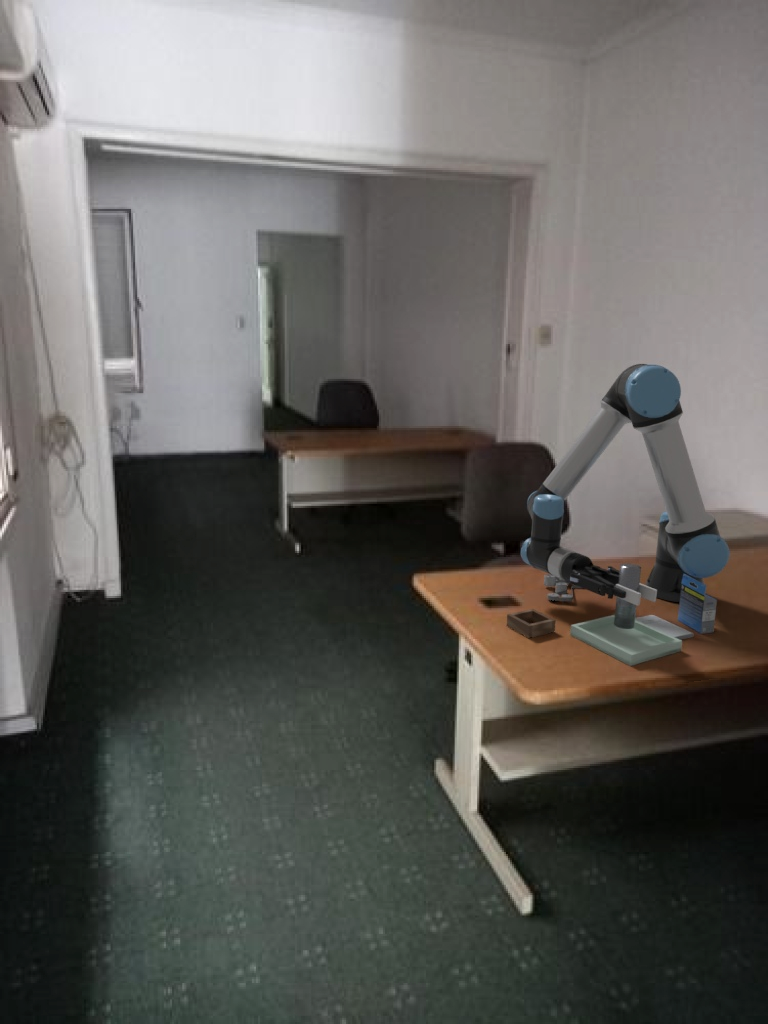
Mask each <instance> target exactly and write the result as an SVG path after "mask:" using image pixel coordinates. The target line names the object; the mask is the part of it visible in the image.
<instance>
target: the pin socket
mask: <svg viewBox="0 0 768 1024" xmlns="http://www.w3.org/2000/svg"><path fill="white" fill-rule="evenodd" d="M530 622H531V623H530ZM532 622H533V623H532ZM507 626H508V627H507ZM506 627H507V628H509V627H510V628H509V629H511V628H512V630H513V629H514V630H515V632H516V631H517V632H516V633H518V632H519V633H518V634H520V633H521V634H520V635H522V634H523V635H525V636H526V638H527V637H528V639H531V638H530V637H532V638H535V637H540V636H544V635H548V633H549V634H551V632H553V633H555V632H556V619H555V618H553V617H550V616H549V615H546V614H544V613H542V612H541V611H538V610H536V609H534V608H531V609H526V610H522V611H518V612H512V613H507V615H506ZM514 630H513V631H514ZM554 631H555V632H554ZM523 635H522V636H523ZM525 636H524V637H525Z"/></svg>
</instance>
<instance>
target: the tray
mask: <svg viewBox="0 0 768 1024" xmlns="http://www.w3.org/2000/svg"><path fill="white" fill-rule="evenodd" d="M614 617H615V614H612V615H608V616H602V617H599V618H595V619H591V620H586V621H583V622H578V623H574V624H571V625H570V630H569V631H570V632H569V635H570V637H573V638H575V639H577V640H579V641H581V642H582V643H585V644H587V645H588V646H590V647H593V648H594V649H596V650H598V649H599V650H598V651H599V652H603V653H604V654H606V655H608V656H610V657H612V658H614V659H616V660H618V661H619V662H622V663H624V664H626V665H628V666H630V667H632V666H635V665H638V664H641V663H646V662H650V661H652V660H655V659H656V660H657V659H659V658H662V657H666V656H669V655H673V654H677V653H680V652H682V647H683V646H682V645H683V639H681V640H679V639H677V638H675V637H673V636H670V635H668V634H666V633H664V632H661V631H659V630H657V629H654V628H652V627H650V626H648V625H645V624H643V623H641V622H639V621H636V620H635V624H634V628H632V629H622V628H619V627H616V626H615V625H614Z"/></svg>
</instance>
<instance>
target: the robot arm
mask: <svg viewBox="0 0 768 1024" xmlns="http://www.w3.org/2000/svg"><path fill="white" fill-rule="evenodd" d="M681 392H682V388H681V384H680V381H679V380H678V377H677V376H676V375H675V374H674V372H672V371H671V370H669V369H668V368H667V367H664V366H661V365H659V364H647V363H637V364H633V365H631V366H628V367H626V369H624V370H623V371H622V372H621V373H620V374H618V377H617V378H616V379H615V381H614V382H613V384H611V387H609V389H608V390H607V392H606V393H605V395H604V396H603V397H602V398H601V400H600V408H599V409H598V410H597V412H596V413H595V414H594V415H593V417H592V419H591V420H590V421H589V422H588V424H587V425H586V426H585V428H584V429H583V430H582V432H581V433H580V434H579V436H578V437H577V438H576V439H575V440H574V442H573V443H572V445H571V446H570V447H569V448H568V450H567V451H566V452H565V454H564V455H563V456H562V457H561V459H560V460H559V462H558V463H557V464H556V465H555V467H554V468H553V470H552V471H551V472H550V473H549V475H548V476H547V477H546V478H545V480H544V481H543V482H542V484H541V485H540V487H539V488H538V489H537V490H535V491H533V492H532V493H531V494H530V495H529V496H528V498H527V501H526V504H527V505H526V508H527V509H526V510H527V512H528V514H529V515H530V518H531V533H530V534H531V535H530V537H529V538H527V539H525V541H524V542H523V544H522V547H521V548H520V556H521V559H522V561H523V562H524V563H525V564H527V565H529V566H531V567H532V568H533V569H536V570H539V571H541V572H544V573H547V574H551V575H553V576H556V577H558V578H559V579H560V580H565V581H567V582H569V585H572V586H573V585H576V586H580V587H582V588H584V590H587V591H588V592H592V593H594V594H596V595H599V596H602V597H605V596H606V595H607V599H610V600H612V599H613V598H614V597H616V598H617V597H618V598H620V599H623V600H625V601H627V602H630V603H632V604H635V605H637V606H640V605H641V599H642V598H643V599H645V600H647V601H650V602H652V603H654V602H656V601H657V599H661V600H663V601H668V602H676V603H680V594H681V583H682V579H683V575H684V574H686V575H687V576H689V577H691V578H693V579H695V580H697V581H699V582H701V583H703V584H705V583H704V579H706V578H710V577H714V576H716V575H717V574H719V573H720V572H722V571H723V570H724V568H725V567H726V566H727V564H728V563H729V559H730V557H731V556H730V553H731V552H730V548H729V546H728V545H729V544H728V543H727V542H726V540H725V539H724V538H723V537H721V535H720V531H719V527H718V524H717V522H716V517H715V516H714V515H713V514H712V513H709V512H707V511H706V508H705V505H704V501H703V498H702V495H701V491H700V488H699V486H698V482H697V479H696V476H695V475H696V474H695V472H694V469H693V466H692V465H693V464H692V462H691V459H690V454H689V452H688V449H687V446H686V443H685V439H684V435H683V433H682V428H681V426H680V423H679V421H680V419H681V416H682V415H683V414H684V412H683V408H682V404H681V402H680V399H681V395H682V393H681ZM626 424H631V425H632V428H633V429H635V430H637V431H638V432H640V433H642V434H641V435H642V437H643V440H644V444H645V446H646V451H647V453H648V456H649V460H650V462H651V463H650V464H651V466H652V470H653V472H654V476H655V478H656V482H657V485H658V488H659V489H658V490H659V491H660V495H661V498H662V501H663V504H664V507H665V511H662V513H661V514H660V519H659V521H658V535H657V543H656V553H655V562H654V565H653V567H652V569H651V571H650V573H649V575H648V578H647V579H646V582H645V584H644V583H641V582H639V590H638V592H636V591H634V590H632V589H629V588H627V587H624V586H621V585H619V584H618V582H619V573H620V569H616V568H614V567H613V566H612V565H611V566H610V565H608V566H607V569H606V568H602V567H601V566H598V565H596V564H595V565H594V563H593V561H592V559H591V558H590V557H588V556H587V555H584V554H581V553H578V552H576V551H573V550H571V549H569V548H565V547H562V546H561V541H562V537H561V536H562V529H563V520H564V513H565V509H564V505H565V502H566V501H567V499H568V497H569V496H570V495H571V493H572V492H573V491H574V490H575V488H576V487H577V486H578V484H580V482H581V481H582V479H584V477H585V476H586V474H587V473H588V471H589V470H591V468H592V467H593V465H595V463H596V462H597V461H598V459H599V458H600V456H601V455H603V453H604V451H605V450H606V449H607V448H608V446H609V445H610V444H611V442H613V440H614V439H615V438H616V436H617V435H618V434H619V433H620V431H621V430H622V429H623V428H624V426H625V425H626ZM690 585H692V586H693V587H695V588H697V585H695V584H694V583H691V582H690ZM614 586H615V587H614ZM582 588H581V589H582Z"/></svg>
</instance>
